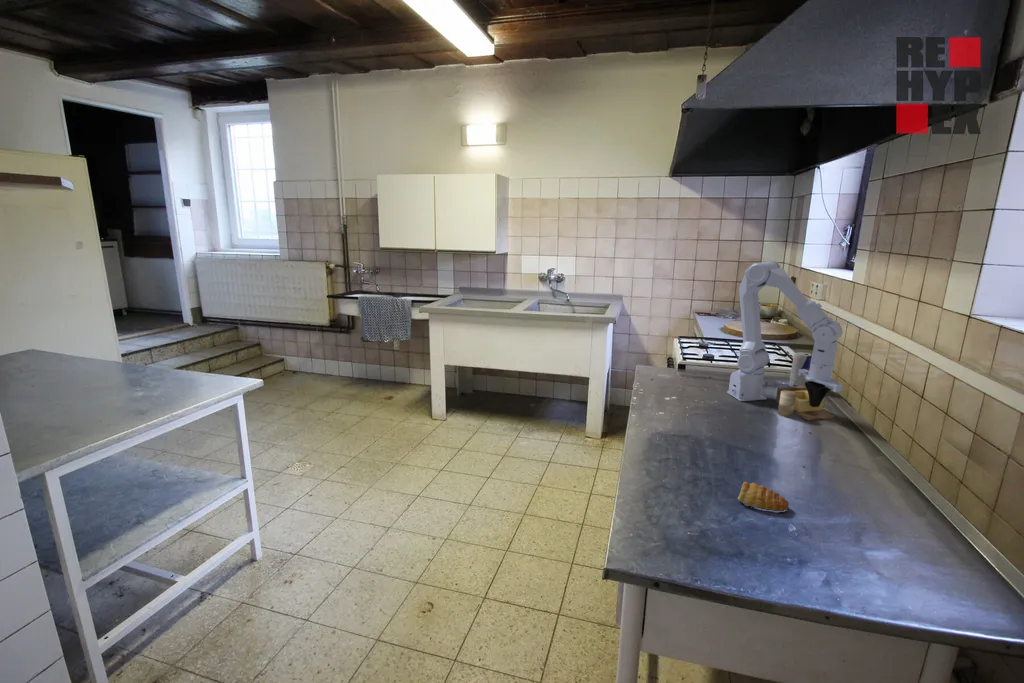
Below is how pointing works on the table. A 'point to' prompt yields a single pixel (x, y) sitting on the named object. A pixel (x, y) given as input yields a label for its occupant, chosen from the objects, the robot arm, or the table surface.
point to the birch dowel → (786, 403)
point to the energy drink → (799, 362)
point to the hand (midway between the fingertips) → (814, 406)
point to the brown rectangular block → (807, 414)
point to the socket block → (804, 402)
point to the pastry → (762, 497)
